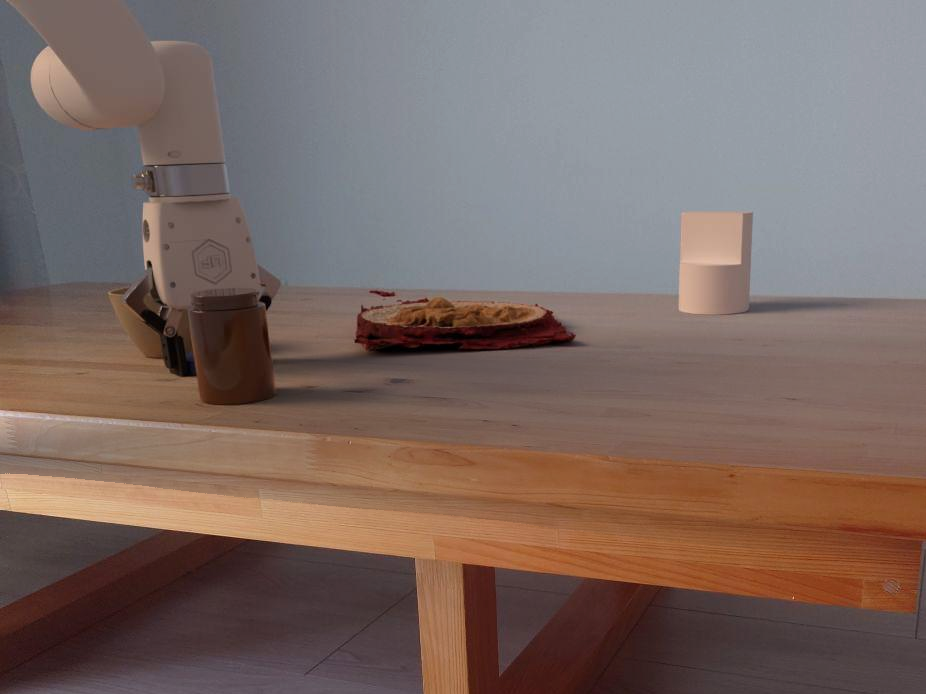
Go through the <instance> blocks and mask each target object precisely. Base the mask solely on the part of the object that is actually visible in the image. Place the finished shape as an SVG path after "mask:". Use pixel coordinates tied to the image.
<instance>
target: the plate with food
mask: <svg viewBox="0 0 926 694" xmlns="http://www.w3.org/2000/svg"><path fill="white" fill-rule="evenodd" d="M368 293H369V294H374V295H375V294H376V295H378V296H380V297H383V299H382V300H383V301H385V300H386V298H389V297H396V293H395V291H391V292H389V291H384V290H377V289H375V290H372V289H371V290H369V291H368ZM396 302H398V303H399V302H401V303H399V304H390V305H384V306H383V304H381V305H377V306H374V305H371V306H370V308H365V307H364V305H363V304H361V305H360V308H361V310H360V312H359V313H358V314H357V315H356V332H355V338H354V340H353V341H354V344H361V346H362V347H363V348H364V350H365V351H368V350H373V351H375V350H380V349H387V348H388V347H393V346H397V345H401V346H403V347H405V348H411V349H412V348H418V347H421V345H422V347H423V348H424V347H425V346H424V345H443V344H444V345H445V344H448V345H451V344H462V345H461V346H459V347H458V348H457V349H458V350H461V349H463V350H467V349H468V350H470V349H471V350H483V349H486V350H488V349H489V350H497V349H499V350H501V349H509V348H521V347H530V345H531V346H540V345H546V344H549V343H551V342H552V341H554V342H557V341H574V340H575V339H576V336H577V334H574V333H573V332H569V334H568V333H567V329H566V326H565V325H562V322H561V321H558V320H557V319H555V316H554V315H553V314H554V311H552V310H549V309H547V308H544V307H543V306H539V305H538V303H535V304H534V305H533V304H526V303H525V304H522V303H516V302H515V303H511V302H505V301H502V302H500V301H498V302H495V301H485V300H484V301H471V300H464V301H462V300H457V301H454V300H452V301H449V300H447V299H446V298H444V297H441V296H437V297H433V298H432V299H430V300H429V298H427V297H424V298H420V299H418V300H412V301H410V300H409V299H407V300H406V301H403V300H401V299H397V300H396Z"/></svg>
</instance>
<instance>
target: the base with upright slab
mask: <svg viewBox="0 0 926 694" xmlns="http://www.w3.org/2000/svg"><path fill="white" fill-rule="evenodd" d="M753 220H754V211H718V210H717V211H715V210H713V211H711V210H710V211H709V210H708V211H706V210H705V211H703V210H699V211H698V210H691V211H690V210H689V211H684V212H680V248H679V249H680V253H679V255H680V257H679V271H678V272H679V273H678V274H679V279H678V311H679V312H682V313H685V314H693V315H704V316H705V315H707V316H709V315H710V316H712V315H713V316H717V315H734V314H742V313H746V312H747V311H749V310H750V292H751V291H750V288H751V267H752V244H753V222H754V221H753Z"/></svg>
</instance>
